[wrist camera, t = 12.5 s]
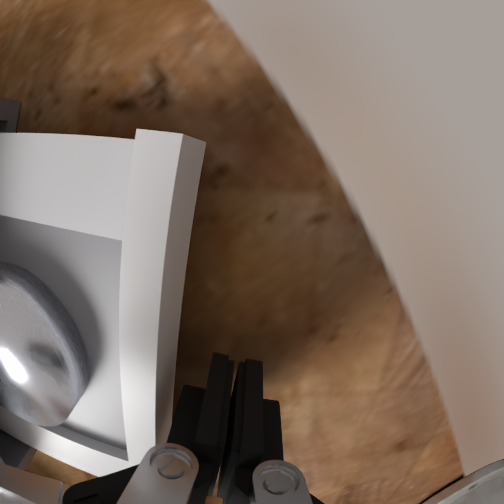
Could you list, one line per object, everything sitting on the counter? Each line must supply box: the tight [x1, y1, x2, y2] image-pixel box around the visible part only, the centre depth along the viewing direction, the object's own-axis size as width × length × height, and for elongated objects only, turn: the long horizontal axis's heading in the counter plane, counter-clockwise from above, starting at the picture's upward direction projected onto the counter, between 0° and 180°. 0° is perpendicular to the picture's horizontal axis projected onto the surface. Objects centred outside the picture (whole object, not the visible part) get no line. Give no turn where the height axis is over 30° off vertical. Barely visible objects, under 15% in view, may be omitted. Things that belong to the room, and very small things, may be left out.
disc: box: [0, 262, 90, 426], centre depth 9 cm, size 7×7×2 cm
